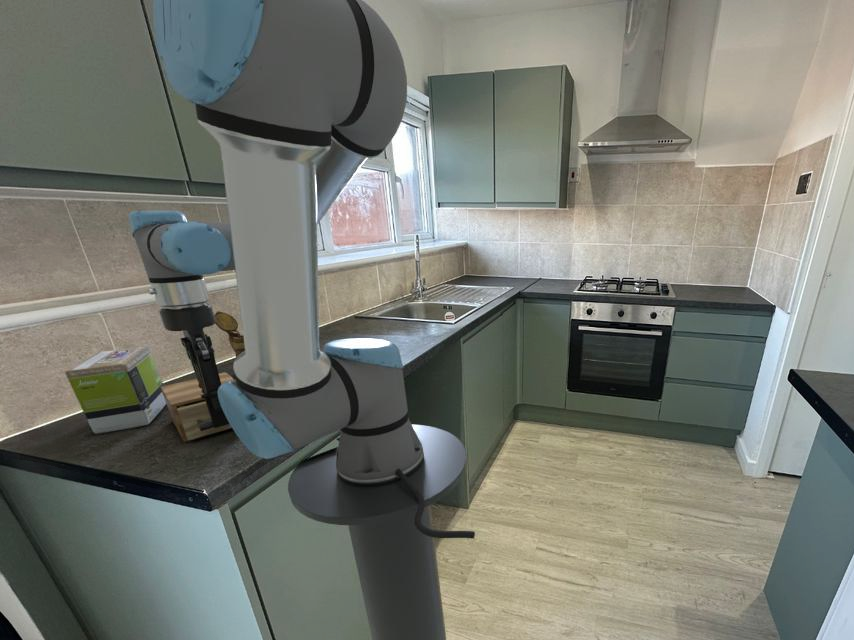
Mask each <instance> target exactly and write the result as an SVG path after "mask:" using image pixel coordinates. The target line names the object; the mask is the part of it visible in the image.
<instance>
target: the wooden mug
mask: <svg viewBox="0 0 854 640" xmlns="http://www.w3.org/2000/svg"><path fill="white" fill-rule="evenodd" d="M214 316H215V320H216V323H215V324H214V325H216V326H217V327H218V328H219V329H220V330H221V331H223V332H224V333H227V335H228V341H229V344H230V347H231V348H232V351H233V352H234V353H235V359H236V358H237V357H238V356H239V355H240V354H241V353H243V352H244V351H245V345H244V337H243V334H242V335H241V333H240V331H238V328H239V323H238V321H237V320H236V319H235V318H234V316H233V315H231V314H229V313H227V312H224V311H219V310H217V311H216V312H215V313H214Z"/></svg>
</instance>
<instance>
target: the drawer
mask: <svg viewBox="0 0 854 640" xmlns="http://www.w3.org/2000/svg"><path fill="white" fill-rule="evenodd" d="M176 407H177V411H178V414H179V417H180V420H181V422H182V425H183V428H184V431H185V434H186V437H187V439H188V440H190V441H193V440H192V439H194V440H196V439H195V438H197V439H199V438H198V437H200V438H203V437H202V436H204V437H206V436H205V435H207V436H209V435H208V434H210V435H213V434H212V433H214V434H216V433H215V432H217V433H219V432H218V431H220V432H223V431H222V430H224V431H226V430H225V429H227V430H229V429H228V428H230V429H233V428H232V427H231V425H230V424H228V425H224V426H221V427H217V428H215V427H214V426H213V423H212V420H211V417H210V414H209V411H208V408H207V404H206V401H205V399H204V400H200V401H196V402H192V403H188V404H184V405H180V406H176Z"/></svg>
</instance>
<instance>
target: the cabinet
mask: <svg viewBox="0 0 854 640" xmlns="http://www.w3.org/2000/svg"><path fill="white" fill-rule="evenodd" d="M219 377H220V381H221V385H223V384H225V383H226V382H227V381H235V378H233V377H232V376H231V375H230V374H228V373H227V372H226V371H225V372H221V373H219ZM161 390H162V393H163V396H164V398H165V401H166V407H167V409H168V412H169V415H170V417H171V420H172V423H173V424H174V426H175V427H176V428H175V429H176V430H177V431H178V434H179V435H180V437H181V439H182V441H183V442H184V443H186V442H190V441H194V440H198V439H200V438H204V437H206V436H210V435H213V434H216V433H219V432H224V431H227V430H230V429H231V428H228V429H225V430H222V431H218V432H215V433H212V434H208V435H205V436H202V437H198V438H195V439H192V440H188V439H187V437H186V434H185V431H184V428H183V425H182V422H181V420H180V417H179V414H178V411H177V407H176V406H180V405H184V404H188V403H192V402H196V401H200V400H204V399H205V398H204V399H202V398H201V395H202V394H203V393H202V391H201V390H202V389H201V388H200V387H199V383H198V380H197V378H194V379H189V380H184V381H180V382H175V383H170V384H167V385H164V386H161Z"/></svg>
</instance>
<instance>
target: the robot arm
mask: <svg viewBox="0 0 854 640" xmlns="http://www.w3.org/2000/svg"><path fill="white" fill-rule="evenodd" d="M152 1H153V2H152V9H153V10H152V11H153V27H154V34H155V42H156V48H157V52H158V53H157V54H158V57H159V59H161V61H162V62H163V71H164V74H165V76H166V78H167V81H168V82H169V84H170V86H171V87H172V89H173V90H174V91H175V92H176V93H177V94H178V95H179V96H180V97H182V98H183V99H185V100H187V101H188V102H189V103H191V104H194V106H195V113H196V119H197V123H198V124H199V125H200V126H201V127H202V128H203V129H204V130H205V131H206V132H207V133H208V134H209V135H210V136H211V137H212V138H213V139H214V140H215V141H216V142H217V144H218V146H219V150H220V158H221V165H222V174H223V182H224V190H225V198H226V207H227V214H228V221H206V222H205V221H203V222H202V221H193V220H192V221H188V220H187V218H186V215H185V214H184V213H183V212H182V211H178V210H133V211H130V213H129V214H128V222H129V224H130V228H131V236H132V237H133V238H134V241H135V244H136V247H137V250H138V252H139V255H140V258H141V262H142V264H143V268H144V269H145V270H144V271H145V272H146V275H147V278H148V281H149V283H150V286H151V287H153V288H148V289H147V293H148V294H149V295H152V296H153V295H154V299H155V303H156V305H157V306H159V307H162V308H160V310H159V311H158V312H159V316H160V318H161V321H162V324H163V327H164V329H165V330H166V331H168V332H182V334H183V336H184V337H180V342H181V345H182V347H184V349H185V353H186V355H187V358H188V359H189V361H190V363H191V367H192V369H193V371H194V375H195V379H197V380H198V383H199V387H200V388H201V389H202V390H201V391H202V393H203V394H202V395H201V398H202V399H204V398H205V401H206V404H207V408H208V411H209V414H210V417H211V420H212V423H213V426H214V427H215V428H217V427H221V426H224V425H228V424H230V425H231V427H232V428H231V429H232V430H233V431H234V434H235V435H236V436H237V438H238V439H239V440H240V441H241V443H242V444H243V446H244V447H246V449H247V450H248V451H249V452H251V454H253V455H254V456H256V457H257V458H260V459H263V460H264V459H265V460H268V459H269V460H270V459H273V458H276V457H279V456H282V455H285V454H287V453H292V452H295V450H298V449H300V448H302V447H304V446H306V445H308V444H311V443H313V442H316V441H318V440H320V439H322V438H324V437H327V436H329V435H331V434H333V433H336V432H338V431H339V432H340V434H339V438H340V440H339V441H338V446H336V447H337V448H338V452H337V454H336V455H337V458H336V468H337V473H338V476H339V478H340V479H341V480H342V481H344V482H345V483H347V484H350V485H354V486H360V487H374V486H381V485H386V484H390V483H393V482H396V481H399V480H402V482H403V483H404V484H405V485H406V487H407V488H408V489H409V490H410V491H411V492H412V493H413V494H414V495H415V497H416V498H417V500H418V503H419V506H418V510H417V512H416V515H415V520H414V523H415V527H416V528H417V529H418V530H419V531H420V532H421V533H423V534H424V535H427V536H430V537H434V539H470V540H471V539H475V537H476V531H474V530H436V529H433V530H432V529H429V528H426V527H425V526H423V525H422V523H421V517H422V514H423V511H424V507H425V502H424V498H423V496H422V494H421V493H420V492H419V491H418V490H417V488H416V487H415V486H414V485H413V484H412V483H411V482H410V481H409V480H408V478H407V476H409V475H411V474H412V473H414V472H415V471H416V470H417V469H418V468H419V467H420V466H421V464H422V463H423V460H424V453H423V447H422V444H421V442H420V440H419V438H418V436H417V434H416V432H415V430H414V428H413V426H412V422H411V421H410V416H409V408H408V400H407V392H406V386H405V378H404V377H405V376H404V365H403V362H402V357H401V352H400V349H399V347H398V346H397V345H396V344H395V343H394V342H392V341H389V340H385V339H380V338H379V339H378V338H364V337H363V338H362V337H361V338H343V339H336V340H331V341H329V342H326V343H325V344H324V346H323V350H320V320H319V319H320V317H319V265H318V264H319V261H318V256H319V255H318V251H319V250H318V225H319V224H320V222H321V221H322V219H323V218H324V216H326V214H327V213H328V211H329V210H330V209H331V207H332V206H333V205H334V203H335V202H336V201H337V199H338V198H339V196H340V195H341V194H342V192H343V191H344V190H345V188H346V187H347V185H348V184H349V183H350V181H352V179H353V178H354V176H355V175H356V173H358V171H359V169H361V166H362V165H363V164H364V163H365V162H366V160H367V159H373V158H376V157H377V158H378V157H379V156H381V154H383V152H384V151H385V150H386V149H387V147H388V146H389V144H390V143H391V141H392V140H393V139H394V137H395V136H396V134H397V132H398V130H399V129H400V127H401V124H402V122H403V118H404V114H405V110H406V106H407V101H408V99H407V98H408V78H407V77H408V76H407V71H406V67H405V62H404V58H403V55H402V52H401V49H400V47H399V45H398V42H397V40H396V38H395V36H394V34H393V32H392V31H391V29H390V27H389V26H388V24H387V23H386V22H385V21H384V20H383V18H382V17H381V16H380V14H379V13H378V12H377V11H376V10H375V9H373V8H372V7H371V6H370V5H369V4H368V3H367V2H365V1H364V0H152ZM226 271H227V272H228V271H229V272H230V271H234V272H235V280H236V287H237V294H238V303H239V311H240V318H241V319H240V320H241V329H242V335H243V337H244V345H245V351H244V352H243V353H241V354H240V355H239V356H238V357H237V358H236V357H235V359H234V362H233V365H232V367H233V374H234V380H235V381H227V382H226V383H225V384H223V385H221V381H220V377H219V374H220V373H219V369H218V365H217V362H216V356H215V349H214V347H212V346H213V342H212V338H211V336H208V334H207V333H205V331H204V329H205V328H209V327H212V326H214V325H216V324H215V323H216V320H215V316H214V315H215V313H214V310H213V305H211V304H210V303H208V302H210V300H211V298H210V295H209V291H208V287H207V284H206V280H205V278H204V275H213V274H216V273H219V272H226Z"/></svg>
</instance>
